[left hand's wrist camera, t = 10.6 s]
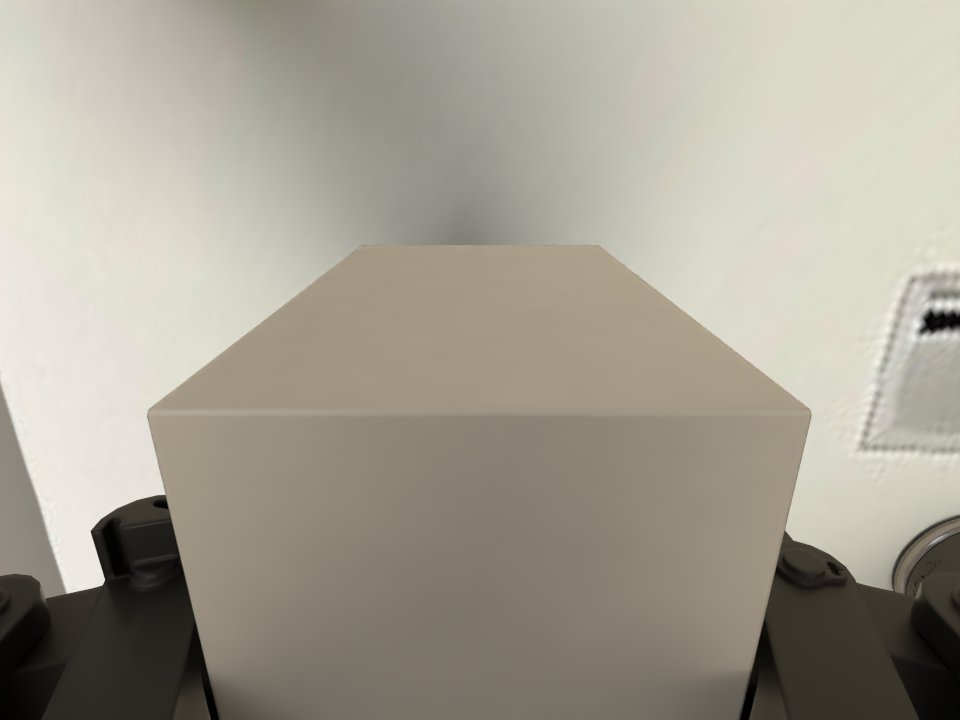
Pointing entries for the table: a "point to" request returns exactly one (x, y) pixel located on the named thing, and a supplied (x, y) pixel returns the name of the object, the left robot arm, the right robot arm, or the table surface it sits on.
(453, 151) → the table surface
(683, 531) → the box
